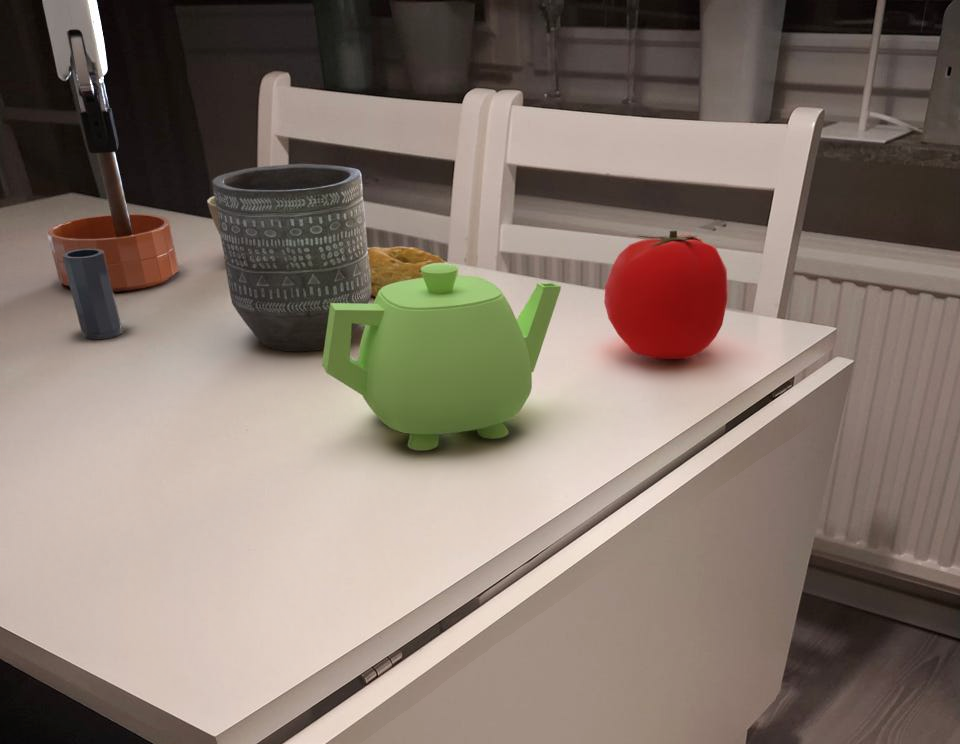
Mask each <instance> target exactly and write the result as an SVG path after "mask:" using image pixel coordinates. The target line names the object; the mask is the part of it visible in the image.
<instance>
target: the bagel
mask: <svg viewBox="0 0 960 744" xmlns="http://www.w3.org/2000/svg"><path fill="white" fill-rule="evenodd" d="M367 251H368V257H369V265H370V276H371V297H375V298H376V296H377V294H378V292H379V290H380V289H381V288H382V287H384V286H386V285H389V284H392V283H396V282H400V281H405V280H411V279H417V278H423V276H422V273H421V268H422V267H424V266H426V265H428V264H433V263H446V262H445V260H443V258H441V257H439V255H436V254H435V255H434V254H431V252H427V251H423V250H421V248H419V247H413V246H410V247H406V246H403V245H402V246H398V245H397V246H393V247H379V246H371V247H369V248H368V249H367Z"/></svg>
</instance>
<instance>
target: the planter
mask: <svg viewBox="0 0 960 744" xmlns="http://www.w3.org/2000/svg"><path fill="white" fill-rule="evenodd" d="M211 184H212V189H213V196H215V202H216V205H217V206H216V209H217V216H218V223H219V230H220V234H219V236H220V240H221V241H220V242H221V246H222V252H223V256H224V260H225V261H224V264H225V270H226V279H227V284H228V290H229V295H230V301H231V304H232V306H233V307H234V309H235V311H236V312H237V314H239V315H238V316H240V318H241V319H242V321H243V323H245V325H246V326H247V327H248V328H249V329H250V331H251V332H252V333H253V335H254V336H255V337H256V338H257V339H258V340H259V341H260V343H261V344H262V346H265V347H267V348H269V349H272V350H276V351H283V352H294V353H295V352H299V353H300V352H314V351H321V350H324V346H325V339H326V331H327V324H328V316H329V309H330V303H356V304H369V302H370V299H371V297H372V295H371V276H370V265H369V257H368V251H367V249H369V248H368V237H367V236H368V235H367V225H366V224H367V223H366V222H367V221H366V212H365V202H364V201H365V200H364V197H363V195H364V193H363V191H364V190H363V177H362V173H361V171H360V170H359V169H357V168H353V167H347V166H341V165H333V164H314V163H290V164H277V165H267V166H256V167H249V168H244V169H238V170H234V171H231V172H226V173H224V174H223V173H222V174H220V175H218V176H216V177H214V178H213V179H212V182H211ZM359 325H360V324H354V323H352V325H351V339H352V338H353V337H354V334H355V332H357V329H358V327H359Z"/></svg>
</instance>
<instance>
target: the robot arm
mask: <svg viewBox="0 0 960 744" xmlns="http://www.w3.org/2000/svg"><path fill="white" fill-rule="evenodd" d="M42 7H43V11H44V16H45V21H46V26H47V31H48V34H49V39H50V44H51V49H52V54H53V58H54V63H55V68H56V74H57V76H58V78H59V79H60V80H61V81H63V82H67V80H69V78H70V77H71V75H72V78H73V83H74V86H75V90H76V95H77V99H78V105H79V109H80V112H79V114H80V119H81V123H82V128H83V132H84V136H85V137H84V138H85V140H86V145H87V150H88V152H89V153H91V154H97V153H107V152H115V153H116V152H118V148H119V145H120V144H119V139H118V133H117V129H116V124H115V120H114V115H113V111H112V108H111V107H110V105H109V100H108V95H107V91H106V85H105V82H104V76H105V75H106V74H107V72H108V61H107V53H106V47H105V46H106V45H105V40H104V35H103V29H102V22H101V17H100V12H99V8H98V7H99V6H98V2H97V0H42Z"/></svg>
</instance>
